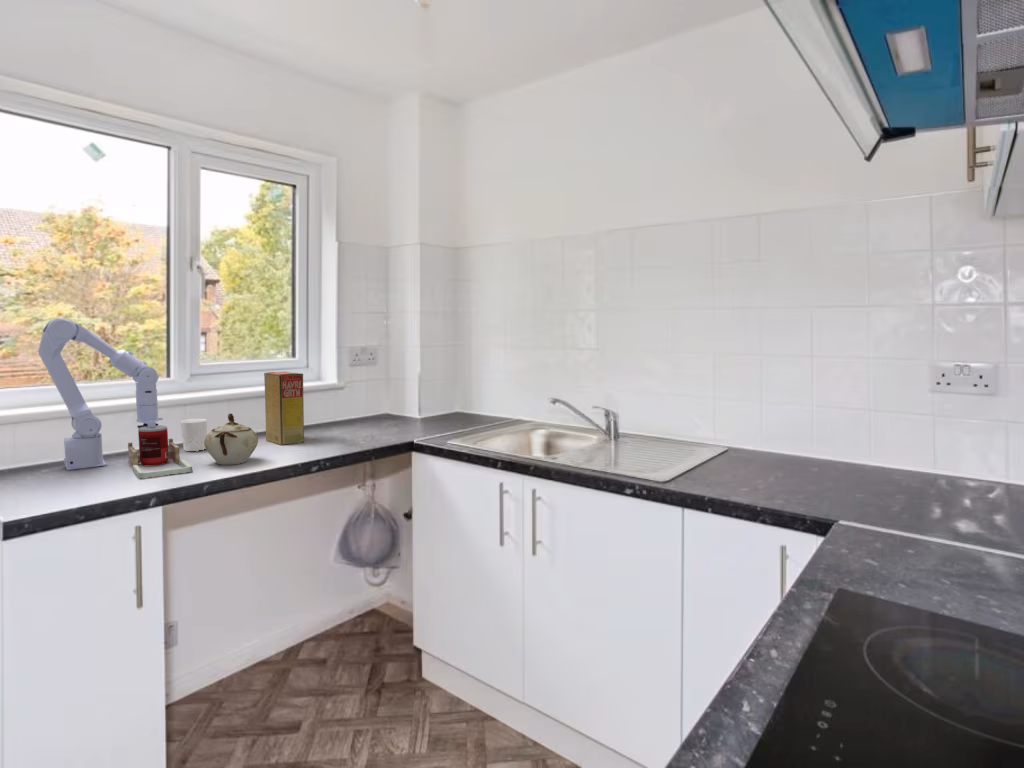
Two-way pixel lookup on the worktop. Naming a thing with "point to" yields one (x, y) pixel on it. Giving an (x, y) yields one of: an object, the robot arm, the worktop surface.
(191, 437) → the white cup
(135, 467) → the bay
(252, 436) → the sugar bowl
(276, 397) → the food packaging
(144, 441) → the canned food
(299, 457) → the worktop surface
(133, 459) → the holder
